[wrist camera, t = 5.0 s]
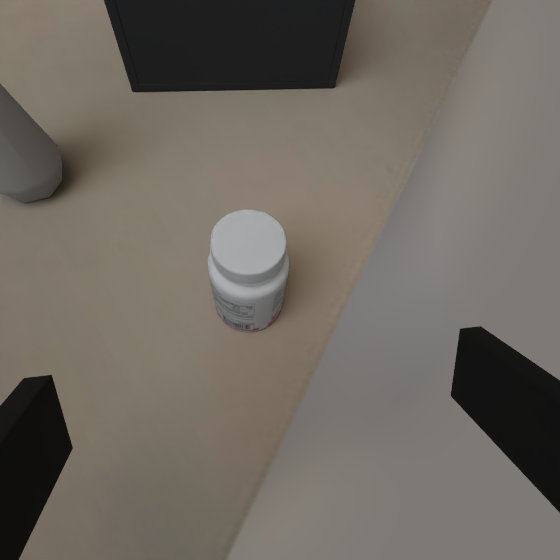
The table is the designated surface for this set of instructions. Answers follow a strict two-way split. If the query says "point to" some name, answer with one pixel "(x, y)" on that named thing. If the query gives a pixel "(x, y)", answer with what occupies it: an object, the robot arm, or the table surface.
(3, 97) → the salt shaker
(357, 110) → the table surface
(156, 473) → the table surface
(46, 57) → the table surface
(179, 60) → the box
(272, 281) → the pill bottle
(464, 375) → the robot arm
